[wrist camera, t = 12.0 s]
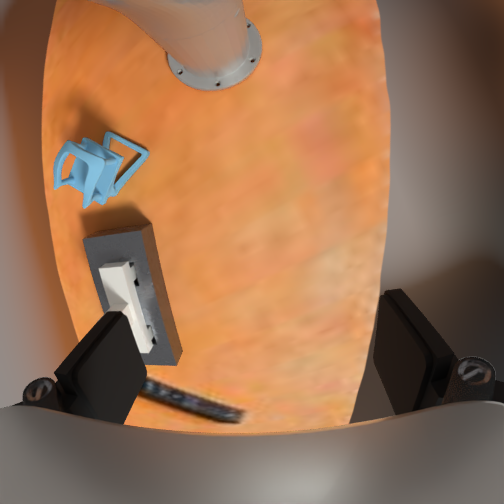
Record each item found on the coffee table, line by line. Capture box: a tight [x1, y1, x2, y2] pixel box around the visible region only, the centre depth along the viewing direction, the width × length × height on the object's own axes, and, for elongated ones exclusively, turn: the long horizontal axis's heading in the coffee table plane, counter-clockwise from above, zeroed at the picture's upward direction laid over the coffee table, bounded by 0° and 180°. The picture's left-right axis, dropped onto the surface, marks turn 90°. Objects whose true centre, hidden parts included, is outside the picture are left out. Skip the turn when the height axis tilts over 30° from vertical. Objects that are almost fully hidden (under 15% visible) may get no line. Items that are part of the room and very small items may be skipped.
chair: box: [54, 132, 150, 208], centre depth 32 cm, size 8×8×12 cm
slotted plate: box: [83, 224, 183, 366], centre depth 42 cm, size 22×10×4 cm, turn 7°
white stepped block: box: [97, 261, 154, 353], centre depth 39 cm, size 14×4×10 cm, turn 7°
